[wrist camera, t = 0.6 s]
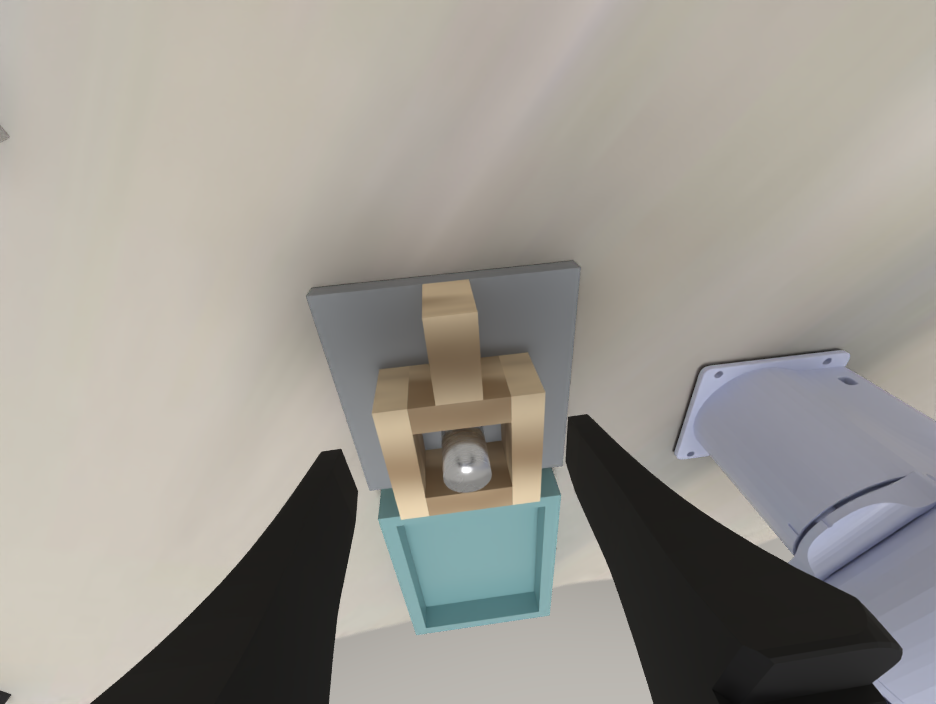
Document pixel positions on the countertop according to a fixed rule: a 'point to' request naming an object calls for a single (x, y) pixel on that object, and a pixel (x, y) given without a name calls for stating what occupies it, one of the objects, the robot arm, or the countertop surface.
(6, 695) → the ammunition clip
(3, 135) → the test tube rack
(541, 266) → the board
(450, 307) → the maple collar
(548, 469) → the tray
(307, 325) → the countertop surface
